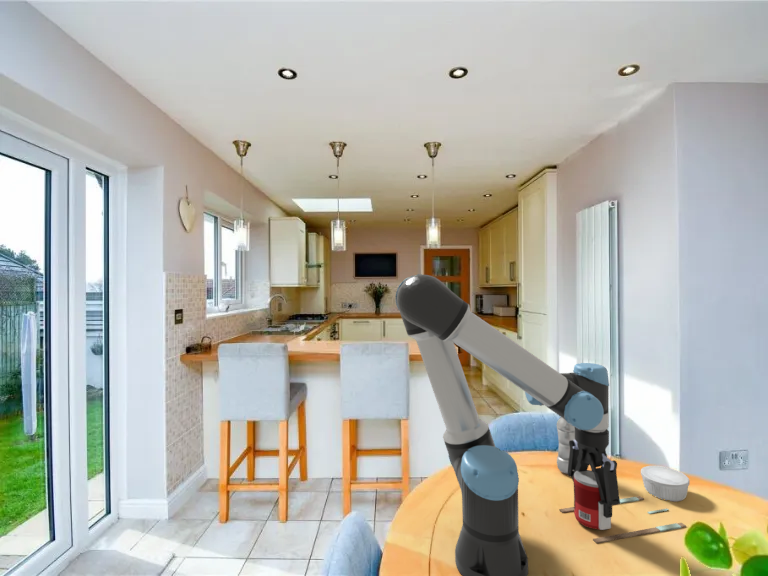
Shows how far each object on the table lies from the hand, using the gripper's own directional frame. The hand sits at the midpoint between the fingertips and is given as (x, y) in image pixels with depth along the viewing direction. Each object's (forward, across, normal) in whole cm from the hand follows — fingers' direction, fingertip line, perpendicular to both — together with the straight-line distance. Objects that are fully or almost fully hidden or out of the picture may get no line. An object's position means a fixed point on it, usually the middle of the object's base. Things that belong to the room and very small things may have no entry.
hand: (592, 517), depth 99 cm
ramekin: (+2, +7, -29) cm, 30 cm away
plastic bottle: (+1, +24, -11) cm, 26 cm away
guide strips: (+1, 0, -8) cm, 8 cm away
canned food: (+1, 0, 0) cm, 1 cm away
